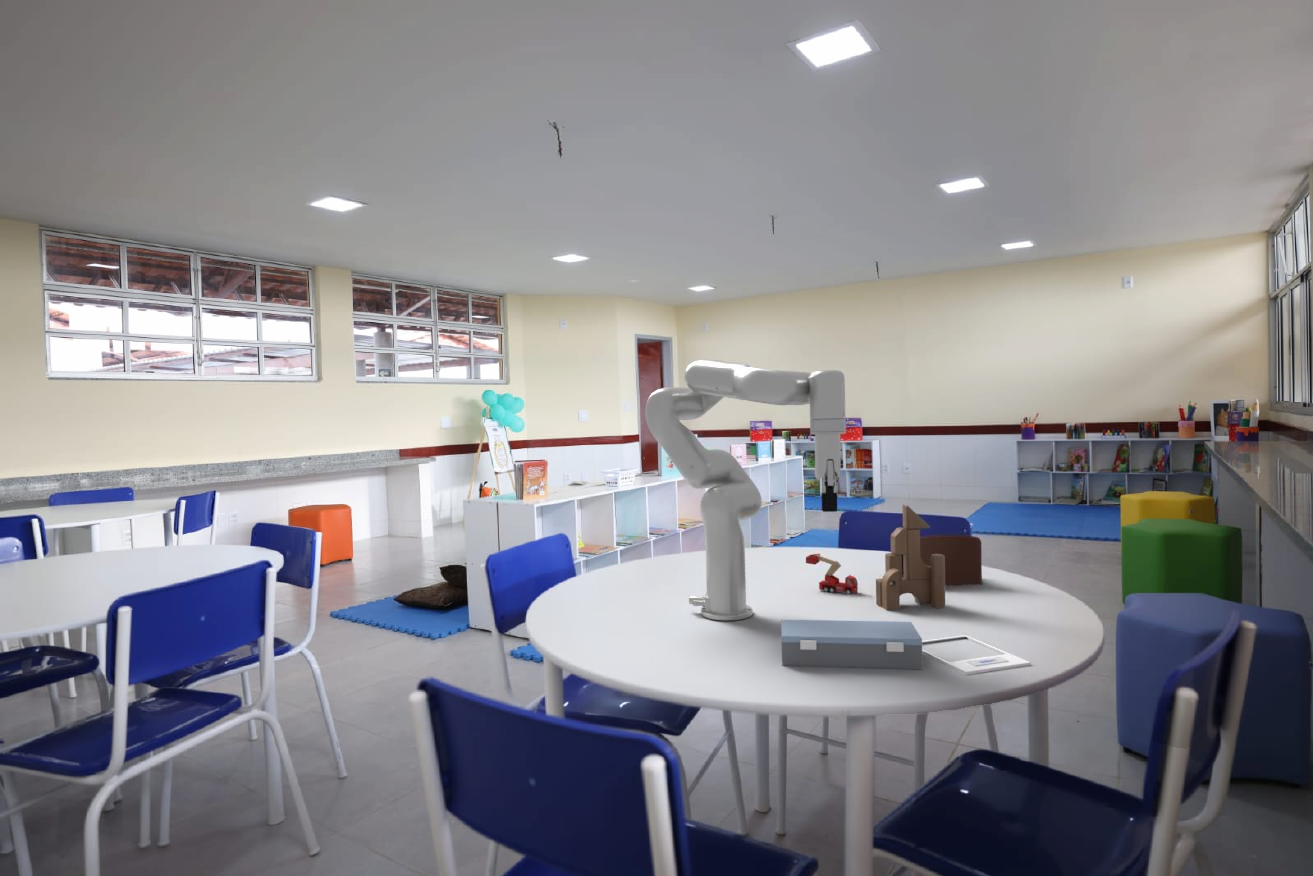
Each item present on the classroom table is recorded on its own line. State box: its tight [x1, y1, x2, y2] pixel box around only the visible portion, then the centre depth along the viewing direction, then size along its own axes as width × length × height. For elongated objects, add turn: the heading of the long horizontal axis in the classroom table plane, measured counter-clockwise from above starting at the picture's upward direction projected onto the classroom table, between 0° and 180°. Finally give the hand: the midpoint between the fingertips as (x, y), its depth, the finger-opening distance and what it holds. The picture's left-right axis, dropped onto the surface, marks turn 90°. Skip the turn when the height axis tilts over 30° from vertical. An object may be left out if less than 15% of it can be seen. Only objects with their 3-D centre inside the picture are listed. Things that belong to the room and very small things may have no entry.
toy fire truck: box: [805, 553, 859, 595], centre depth 197 cm, size 3×14×10 cm, turn 58°
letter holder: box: [902, 534, 983, 587], centre depth 204 cm, size 10×20×14 cm, turn 87°
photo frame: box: [922, 634, 1032, 676], centre depth 144 cm, size 15×1×18 cm
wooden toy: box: [875, 504, 946, 611], centre depth 180 cm, size 16×7×25 cm, turn 94°
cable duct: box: [781, 633, 923, 670], centre depth 144 cm, size 26×11×4 cm, turn 81°
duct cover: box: [780, 619, 923, 652], centre depth 144 cm, size 26×12×2 cm, turn 81°
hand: (829, 511), depth 159 cm, fingers closed
